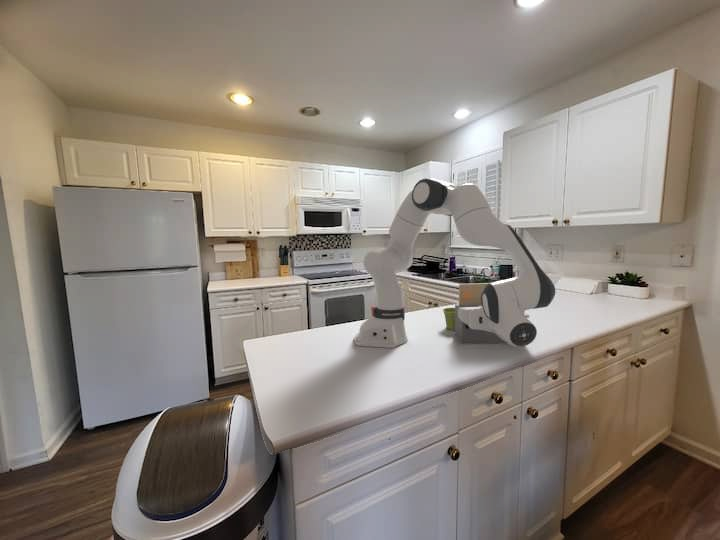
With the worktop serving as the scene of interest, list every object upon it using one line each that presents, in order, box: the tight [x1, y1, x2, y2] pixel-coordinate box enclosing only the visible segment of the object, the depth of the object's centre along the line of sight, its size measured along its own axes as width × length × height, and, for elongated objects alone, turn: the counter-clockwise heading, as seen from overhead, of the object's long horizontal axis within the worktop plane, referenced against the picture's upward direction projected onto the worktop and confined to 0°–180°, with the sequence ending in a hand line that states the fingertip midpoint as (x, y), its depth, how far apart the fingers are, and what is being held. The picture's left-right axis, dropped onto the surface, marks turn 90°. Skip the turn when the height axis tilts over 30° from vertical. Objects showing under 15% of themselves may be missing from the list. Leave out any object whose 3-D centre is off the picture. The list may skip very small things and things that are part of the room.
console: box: [454, 282, 526, 345], centre depth 121 cm, size 24×10×23 cm, turn 88°
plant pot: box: [442, 307, 455, 331], centre depth 137 cm, size 9×9×9 cm
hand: (481, 308), depth 106 cm, fingers closed
